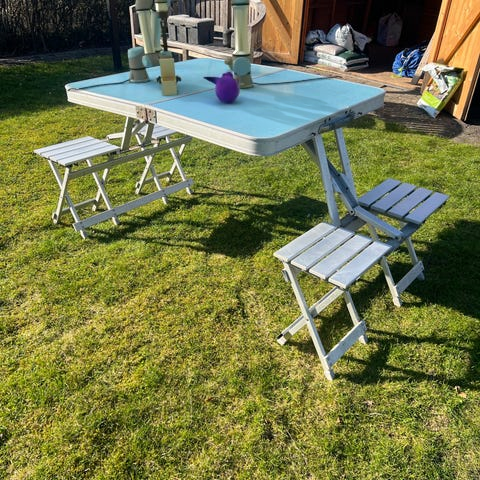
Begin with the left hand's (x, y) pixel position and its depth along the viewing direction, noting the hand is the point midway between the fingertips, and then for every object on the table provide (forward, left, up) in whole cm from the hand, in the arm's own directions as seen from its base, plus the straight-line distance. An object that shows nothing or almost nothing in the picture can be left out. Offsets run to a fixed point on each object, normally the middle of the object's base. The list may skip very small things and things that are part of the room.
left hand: (168, 82), depth 302 cm
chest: (-1, -3, -6) cm, 7 cm away
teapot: (+66, +61, -6) cm, 90 cm away
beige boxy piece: (0, -1, +9) cm, 9 cm away
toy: (+28, -37, -6) cm, 47 cm away
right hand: (0, +1, +20) cm, 20 cm away
